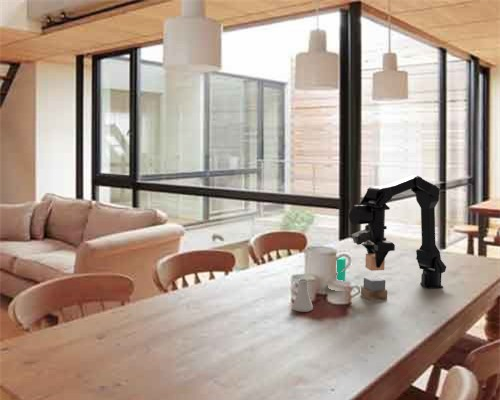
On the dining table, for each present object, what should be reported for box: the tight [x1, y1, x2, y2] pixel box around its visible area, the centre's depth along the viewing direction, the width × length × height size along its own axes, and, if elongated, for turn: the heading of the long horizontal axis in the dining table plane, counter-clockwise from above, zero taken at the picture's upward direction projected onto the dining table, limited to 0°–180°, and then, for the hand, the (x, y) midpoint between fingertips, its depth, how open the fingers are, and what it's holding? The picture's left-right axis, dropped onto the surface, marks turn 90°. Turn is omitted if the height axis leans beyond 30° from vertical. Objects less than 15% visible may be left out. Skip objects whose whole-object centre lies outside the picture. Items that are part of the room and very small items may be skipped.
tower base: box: [360, 285, 388, 301], centre depth 196 cm, size 7×7×4 cm
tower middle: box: [363, 275, 386, 291], centre depth 195 cm, size 6×6×4 cm
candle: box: [337, 256, 347, 282], centre depth 212 cm, size 6×6×12 cm
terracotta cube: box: [365, 253, 386, 272], centre depth 194 cm, size 5×5×5 cm
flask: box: [291, 278, 314, 313], centre depth 181 cm, size 7×7×10 cm
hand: (375, 265), depth 194 cm, fingers closed on terracotta cube, 5 cm apart
